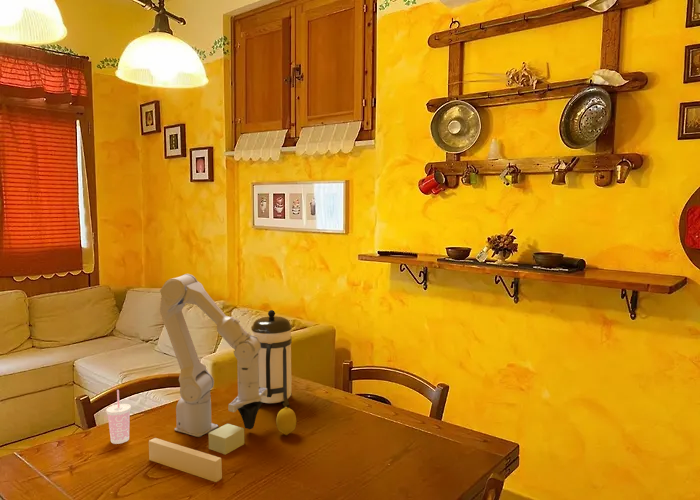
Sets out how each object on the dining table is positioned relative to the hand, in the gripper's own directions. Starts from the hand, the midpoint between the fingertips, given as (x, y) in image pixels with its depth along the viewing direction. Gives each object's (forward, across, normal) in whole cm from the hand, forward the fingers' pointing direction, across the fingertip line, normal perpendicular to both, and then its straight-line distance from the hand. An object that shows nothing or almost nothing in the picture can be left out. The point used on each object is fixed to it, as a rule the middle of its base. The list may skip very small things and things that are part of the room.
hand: (249, 427), depth 149 cm
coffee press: (+2, +21, +7) cm, 22 cm away
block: (+2, -9, 0) cm, 9 cm away
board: (+1, -23, +1) cm, 23 cm away
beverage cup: (+2, -20, +28) cm, 35 cm away
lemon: (+2, +4, -10) cm, 11 cm away
